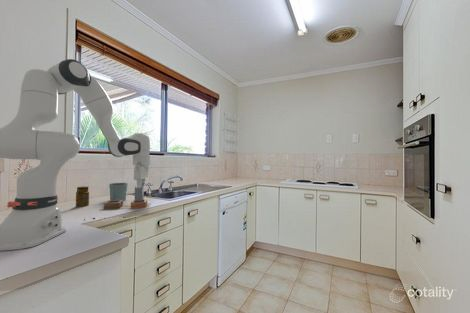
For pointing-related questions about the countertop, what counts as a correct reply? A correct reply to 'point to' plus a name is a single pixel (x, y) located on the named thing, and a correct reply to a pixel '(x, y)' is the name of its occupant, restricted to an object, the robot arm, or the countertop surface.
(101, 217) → the countertop surface
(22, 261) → the countertop surface
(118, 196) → the drinking glass
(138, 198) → the peg
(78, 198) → the condiment
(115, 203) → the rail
